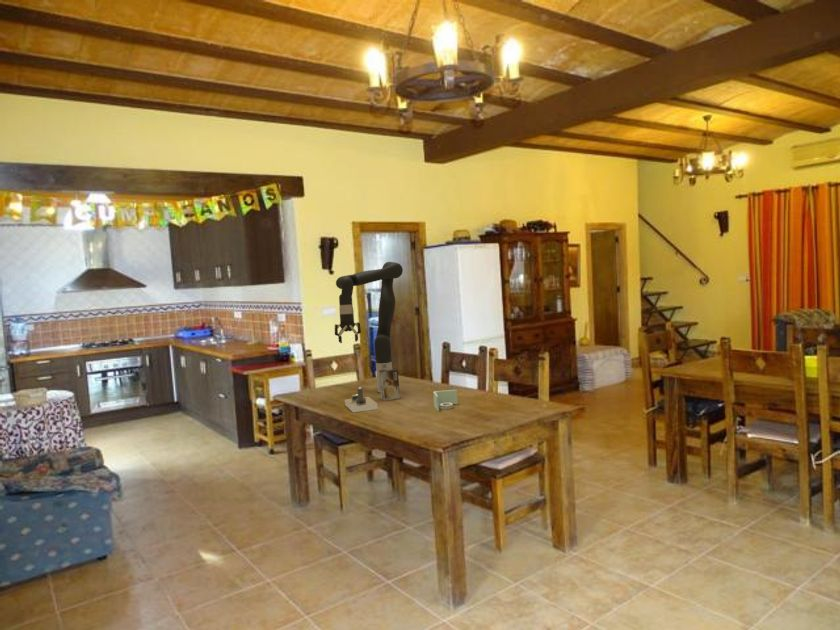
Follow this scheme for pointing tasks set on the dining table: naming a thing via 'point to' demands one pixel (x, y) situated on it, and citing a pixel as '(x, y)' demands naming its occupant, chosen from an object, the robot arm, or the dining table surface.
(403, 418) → the dining table surface
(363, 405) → the levelling base
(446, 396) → the right angle wall
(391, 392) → the coffee box
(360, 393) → the wing knob
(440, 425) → the dining table surface
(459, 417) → the dining table surface
